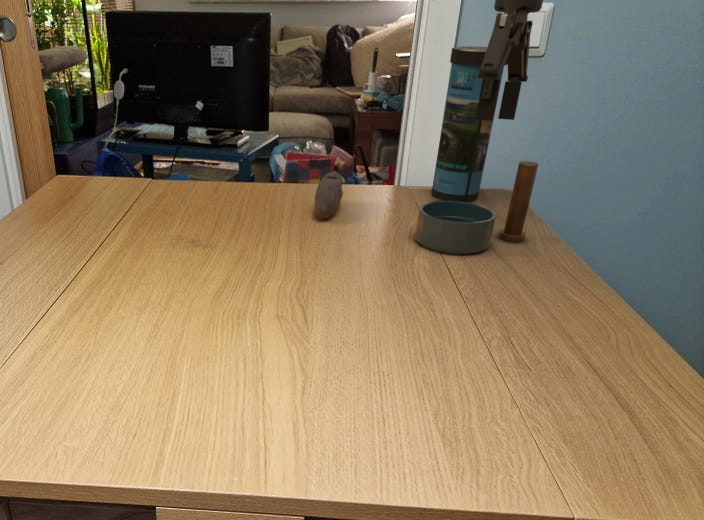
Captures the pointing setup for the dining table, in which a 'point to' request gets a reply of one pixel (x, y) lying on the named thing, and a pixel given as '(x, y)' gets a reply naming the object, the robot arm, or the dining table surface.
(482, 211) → the bowl
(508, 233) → the muddler
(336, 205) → the perforated stone tool
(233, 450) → the dining table surface
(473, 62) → the advertising column
